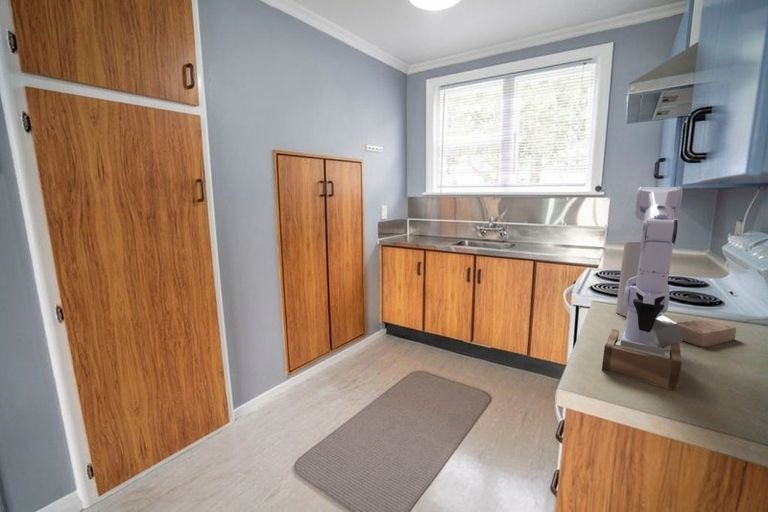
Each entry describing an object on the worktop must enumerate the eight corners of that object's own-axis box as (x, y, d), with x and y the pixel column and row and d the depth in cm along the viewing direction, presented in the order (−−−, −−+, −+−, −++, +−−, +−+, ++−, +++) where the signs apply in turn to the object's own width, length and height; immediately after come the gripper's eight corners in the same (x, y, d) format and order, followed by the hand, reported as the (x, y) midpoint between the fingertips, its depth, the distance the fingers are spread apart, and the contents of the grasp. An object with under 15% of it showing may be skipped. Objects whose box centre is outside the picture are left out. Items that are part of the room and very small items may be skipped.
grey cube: (648, 340, 85) (642, 323, 84) (669, 332, 84) (662, 315, 83) (661, 348, 81) (654, 331, 80) (683, 340, 80) (676, 323, 79)
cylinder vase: (618, 317, 116) (627, 245, 112) (613, 307, 127) (621, 241, 123) (664, 324, 111) (676, 247, 107) (655, 313, 122) (665, 243, 118)
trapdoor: (618, 342, 89) (620, 334, 89) (667, 353, 82) (669, 344, 82) (614, 348, 80) (616, 339, 80) (669, 361, 73) (670, 351, 73)
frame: (609, 350, 91) (612, 329, 90) (675, 366, 82) (679, 342, 81) (601, 370, 80) (604, 346, 79) (676, 390, 72) (681, 364, 71)
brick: (701, 330, 107) (703, 315, 106) (736, 340, 99) (739, 325, 98) (667, 337, 101) (669, 322, 100) (702, 349, 93) (704, 333, 92)
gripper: (634, 264, 88) (627, 314, 90) (629, 273, 77) (622, 330, 79) (670, 267, 83) (662, 321, 86) (670, 278, 72) (661, 338, 75)
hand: (645, 326), depth 82 cm, fingers open, 7 cm apart
